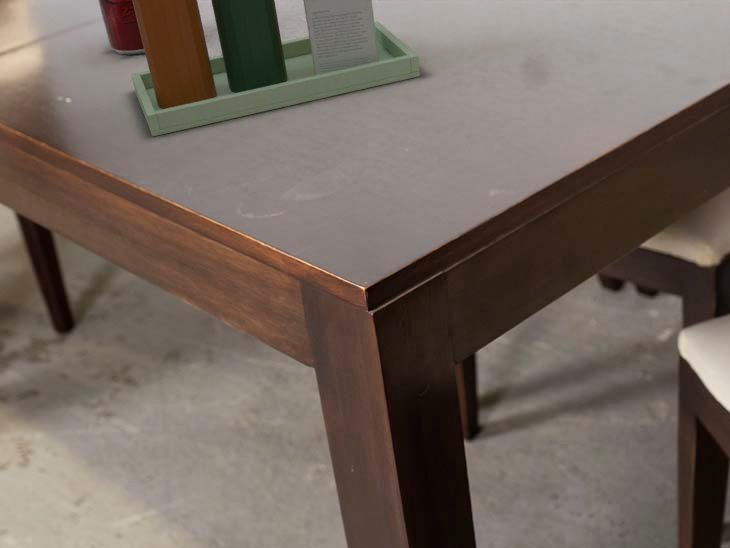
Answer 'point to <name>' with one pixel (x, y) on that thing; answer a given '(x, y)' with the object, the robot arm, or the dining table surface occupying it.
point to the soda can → (122, 26)
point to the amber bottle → (175, 51)
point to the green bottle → (250, 43)
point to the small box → (341, 34)
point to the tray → (279, 85)
